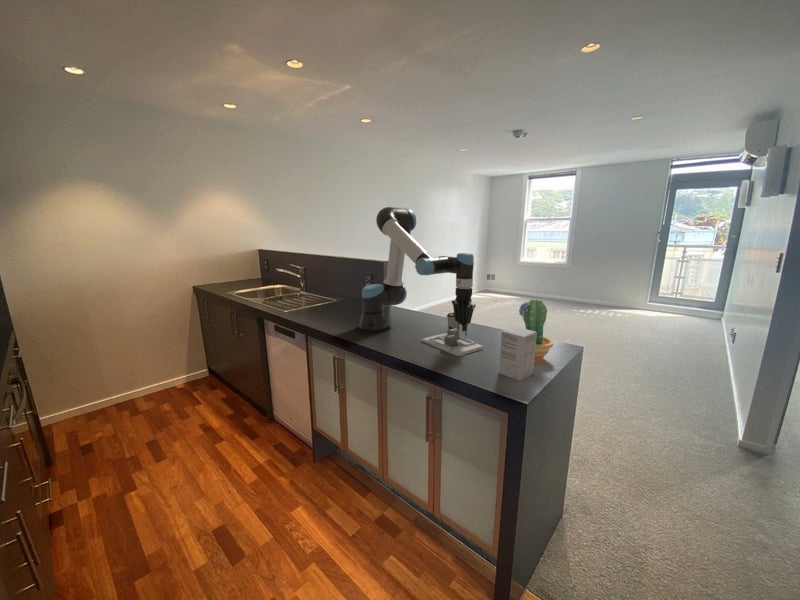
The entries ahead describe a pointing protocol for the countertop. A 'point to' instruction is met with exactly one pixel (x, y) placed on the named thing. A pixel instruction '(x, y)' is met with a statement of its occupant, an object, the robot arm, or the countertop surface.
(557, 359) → the countertop surface
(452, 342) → the tab
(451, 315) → the food container
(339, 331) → the countertop surface
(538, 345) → the potted cactus
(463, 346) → the switch board
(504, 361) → the supplement box
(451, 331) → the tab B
